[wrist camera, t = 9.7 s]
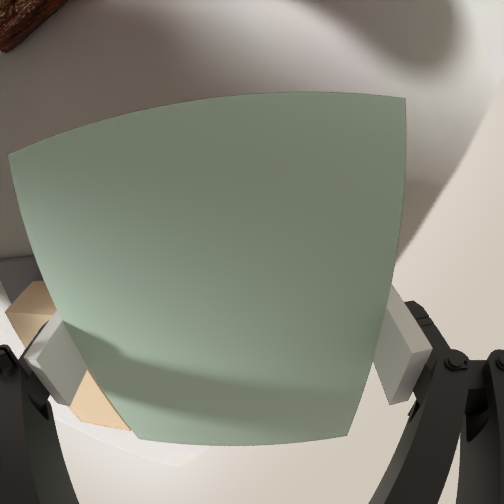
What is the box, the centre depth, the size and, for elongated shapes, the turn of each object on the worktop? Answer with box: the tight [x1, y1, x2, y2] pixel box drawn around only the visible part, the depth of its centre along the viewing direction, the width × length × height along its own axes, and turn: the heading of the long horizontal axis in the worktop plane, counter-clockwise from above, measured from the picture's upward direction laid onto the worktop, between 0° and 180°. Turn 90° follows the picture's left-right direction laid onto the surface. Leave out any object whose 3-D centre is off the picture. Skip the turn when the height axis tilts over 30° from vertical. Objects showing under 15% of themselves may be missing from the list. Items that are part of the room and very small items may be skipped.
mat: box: [0, 256, 131, 431], centre depth 21 cm, size 16×18×5 cm
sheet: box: [8, 92, 406, 446], centre depth 10 cm, size 12×16×1 cm
